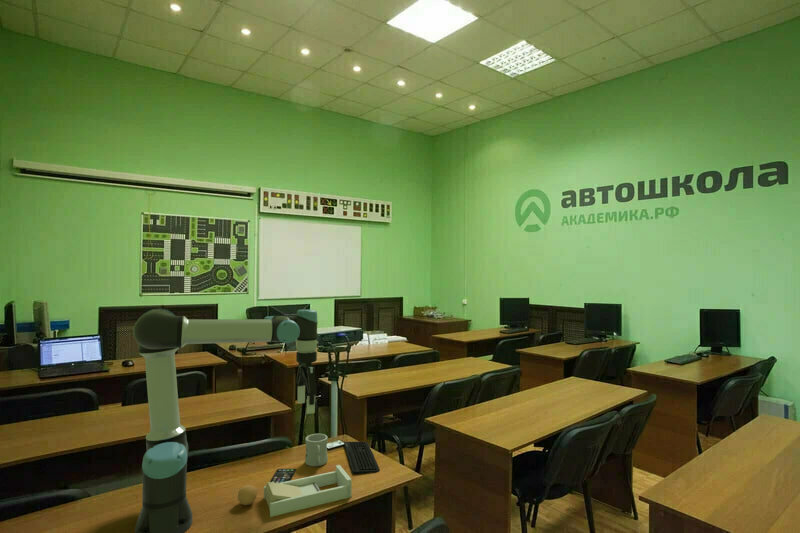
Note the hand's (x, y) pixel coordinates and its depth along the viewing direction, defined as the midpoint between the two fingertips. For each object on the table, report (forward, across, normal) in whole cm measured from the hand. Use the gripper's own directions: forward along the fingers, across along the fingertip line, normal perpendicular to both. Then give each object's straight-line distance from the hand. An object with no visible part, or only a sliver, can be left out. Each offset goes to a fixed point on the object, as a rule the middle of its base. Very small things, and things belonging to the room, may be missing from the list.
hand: (305, 408), depth 162 cm
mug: (+26, +10, -8) cm, 29 cm away
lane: (+26, -14, +3) cm, 30 cm away
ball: (+23, -9, +22) cm, 33 cm away
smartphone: (+27, +4, +8) cm, 28 cm away
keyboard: (+27, +8, -26) cm, 38 cm away
